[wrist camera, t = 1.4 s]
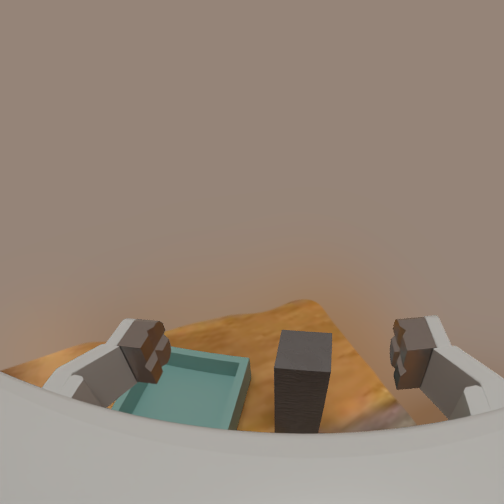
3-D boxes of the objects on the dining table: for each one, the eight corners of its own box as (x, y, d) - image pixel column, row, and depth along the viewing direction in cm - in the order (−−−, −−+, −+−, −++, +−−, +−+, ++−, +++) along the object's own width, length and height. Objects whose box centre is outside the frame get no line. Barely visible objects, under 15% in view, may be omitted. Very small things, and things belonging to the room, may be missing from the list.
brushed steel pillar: (274, 441, 32) (274, 367, 25) (281, 409, 35) (281, 329, 29) (314, 444, 31) (330, 372, 24) (318, 413, 34) (332, 333, 28)
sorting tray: (116, 438, 31) (103, 422, 29) (157, 361, 43) (150, 342, 41) (224, 469, 29) (219, 455, 27) (251, 377, 40) (249, 358, 38)
